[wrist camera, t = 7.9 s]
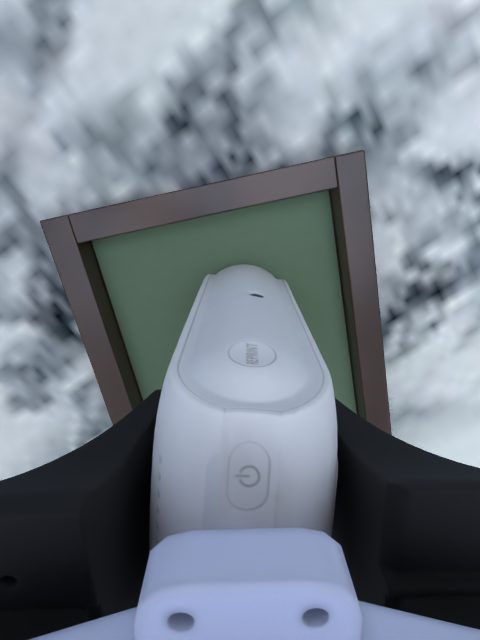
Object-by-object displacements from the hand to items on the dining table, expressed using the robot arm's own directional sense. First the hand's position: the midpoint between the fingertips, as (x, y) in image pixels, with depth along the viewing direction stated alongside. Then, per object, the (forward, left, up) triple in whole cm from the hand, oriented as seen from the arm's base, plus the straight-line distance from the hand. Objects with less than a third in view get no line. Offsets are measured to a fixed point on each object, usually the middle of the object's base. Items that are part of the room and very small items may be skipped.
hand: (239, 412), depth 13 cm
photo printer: (0, -1, -6) cm, 6 cm away
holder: (0, 0, -7) cm, 7 cm away
